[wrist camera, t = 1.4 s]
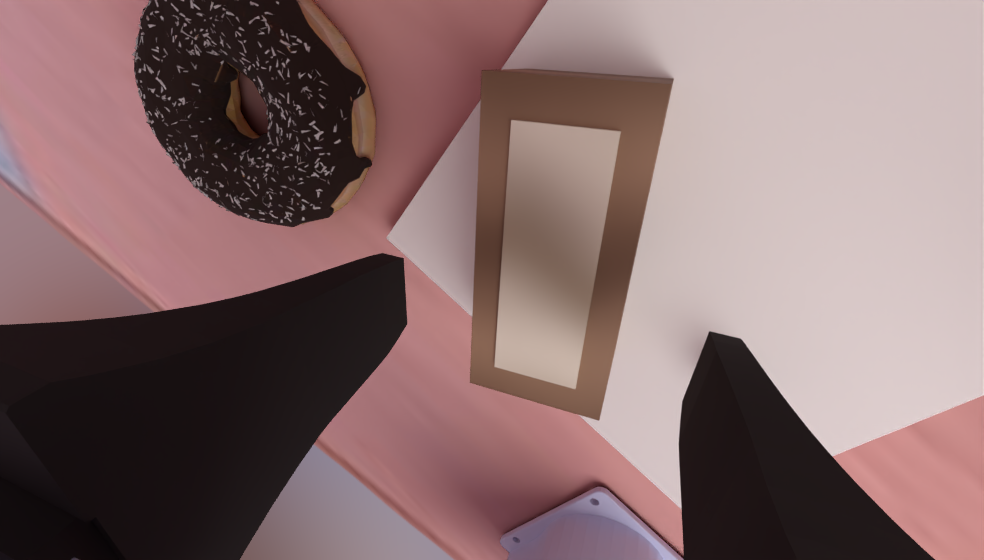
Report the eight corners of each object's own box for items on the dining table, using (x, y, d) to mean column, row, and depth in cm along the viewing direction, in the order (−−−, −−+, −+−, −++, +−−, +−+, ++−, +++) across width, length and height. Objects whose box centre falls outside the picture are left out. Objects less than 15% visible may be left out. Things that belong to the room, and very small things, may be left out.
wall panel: (687, 498, 23) (688, 573, 19) (397, 231, 22) (347, 261, 19) (1418, 185, 11) (1745, 238, 8) (830, -394, 11) (900, -607, 7)
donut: (198, -78, 20) (99, -106, 16) (422, 43, 18) (364, 39, 15) (191, 150, 26) (117, 164, 22) (361, 255, 24) (309, 286, 21)
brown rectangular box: (614, 352, 20) (598, 423, 16) (507, 325, 21) (468, 384, 17) (673, 78, 15) (671, 84, 11) (528, 68, 16) (479, 70, 12)
